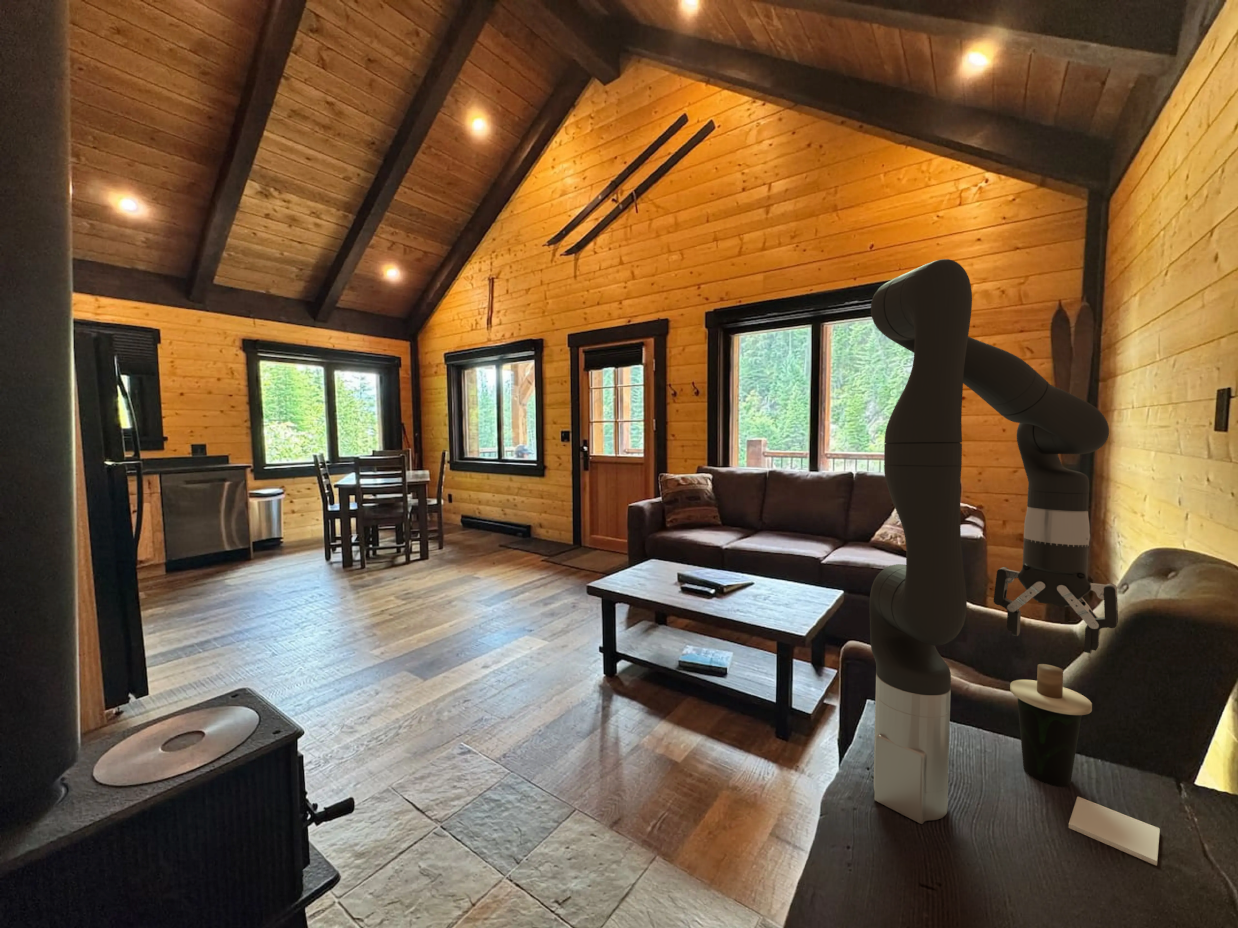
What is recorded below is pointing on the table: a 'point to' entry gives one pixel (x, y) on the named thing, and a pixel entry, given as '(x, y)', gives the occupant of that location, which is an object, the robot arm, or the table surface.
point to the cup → (1048, 744)
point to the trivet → (1116, 830)
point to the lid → (1050, 692)
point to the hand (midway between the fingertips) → (1050, 642)
